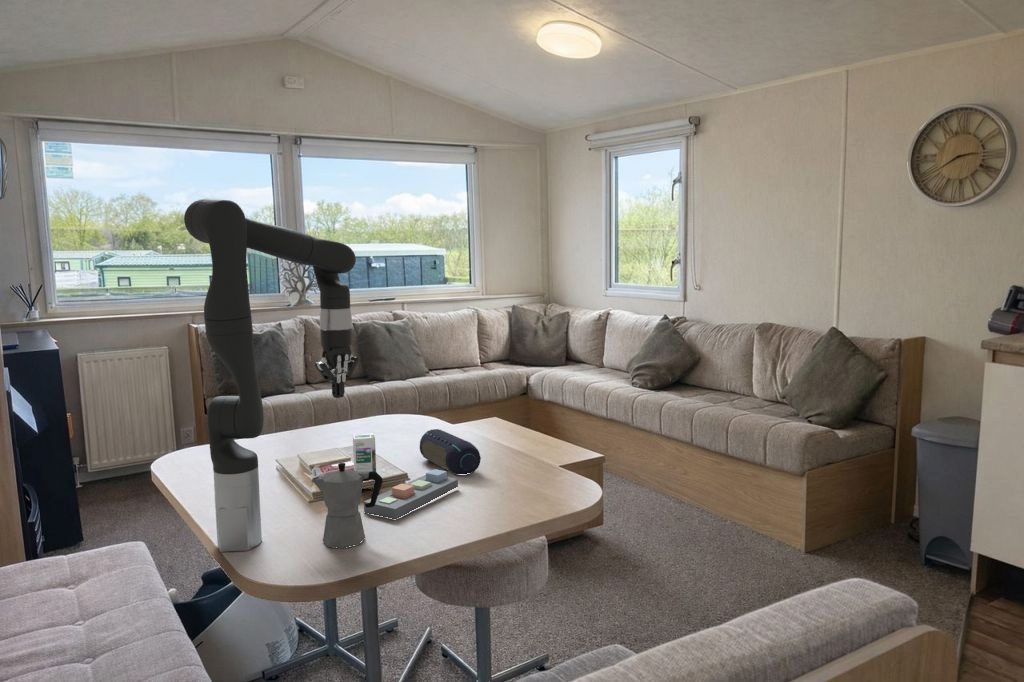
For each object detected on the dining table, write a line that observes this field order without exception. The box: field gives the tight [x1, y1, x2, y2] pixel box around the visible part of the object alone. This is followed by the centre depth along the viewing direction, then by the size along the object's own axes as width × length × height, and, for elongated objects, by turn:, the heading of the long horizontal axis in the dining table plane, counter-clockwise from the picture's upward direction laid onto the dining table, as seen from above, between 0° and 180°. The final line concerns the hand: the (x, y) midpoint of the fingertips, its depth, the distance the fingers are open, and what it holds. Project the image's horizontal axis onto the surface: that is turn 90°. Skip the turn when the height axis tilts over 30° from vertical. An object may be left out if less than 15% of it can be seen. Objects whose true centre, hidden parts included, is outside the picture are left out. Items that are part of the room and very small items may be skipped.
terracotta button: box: [391, 483, 414, 499], centre depth 182 cm, size 4×4×4 cm
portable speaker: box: [419, 428, 482, 475], centre depth 214 cm, size 25×10×10 cm, turn 34°
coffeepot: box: [311, 462, 384, 549], centre depth 160 cm, size 15×9×18 cm, turn 101°
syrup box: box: [352, 432, 377, 481], centre depth 196 cm, size 6×6×14 cm
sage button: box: [409, 480, 431, 491], centre depth 188 cm, size 4×4×4 cm
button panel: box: [363, 474, 459, 519], centre depth 186 cm, size 26×10×3 cm, turn 149°
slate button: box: [425, 469, 448, 483], centre depth 194 cm, size 4×4×4 cm
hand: (338, 397), depth 175 cm, fingers closed
